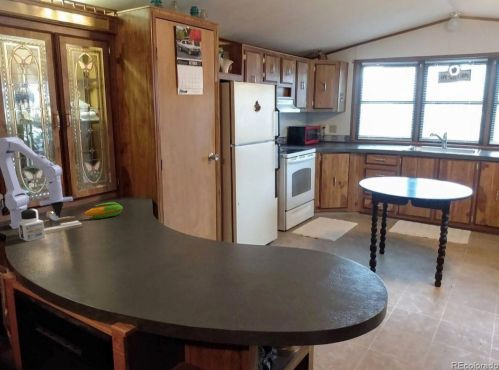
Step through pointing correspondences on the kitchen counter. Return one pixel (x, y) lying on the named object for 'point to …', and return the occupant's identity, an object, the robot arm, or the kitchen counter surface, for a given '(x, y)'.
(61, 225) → the brown-striped cream panel
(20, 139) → the robot arm
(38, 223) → the container
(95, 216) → the corn
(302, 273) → the kitchen counter surface
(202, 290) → the kitchen counter surface
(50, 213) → the bar
